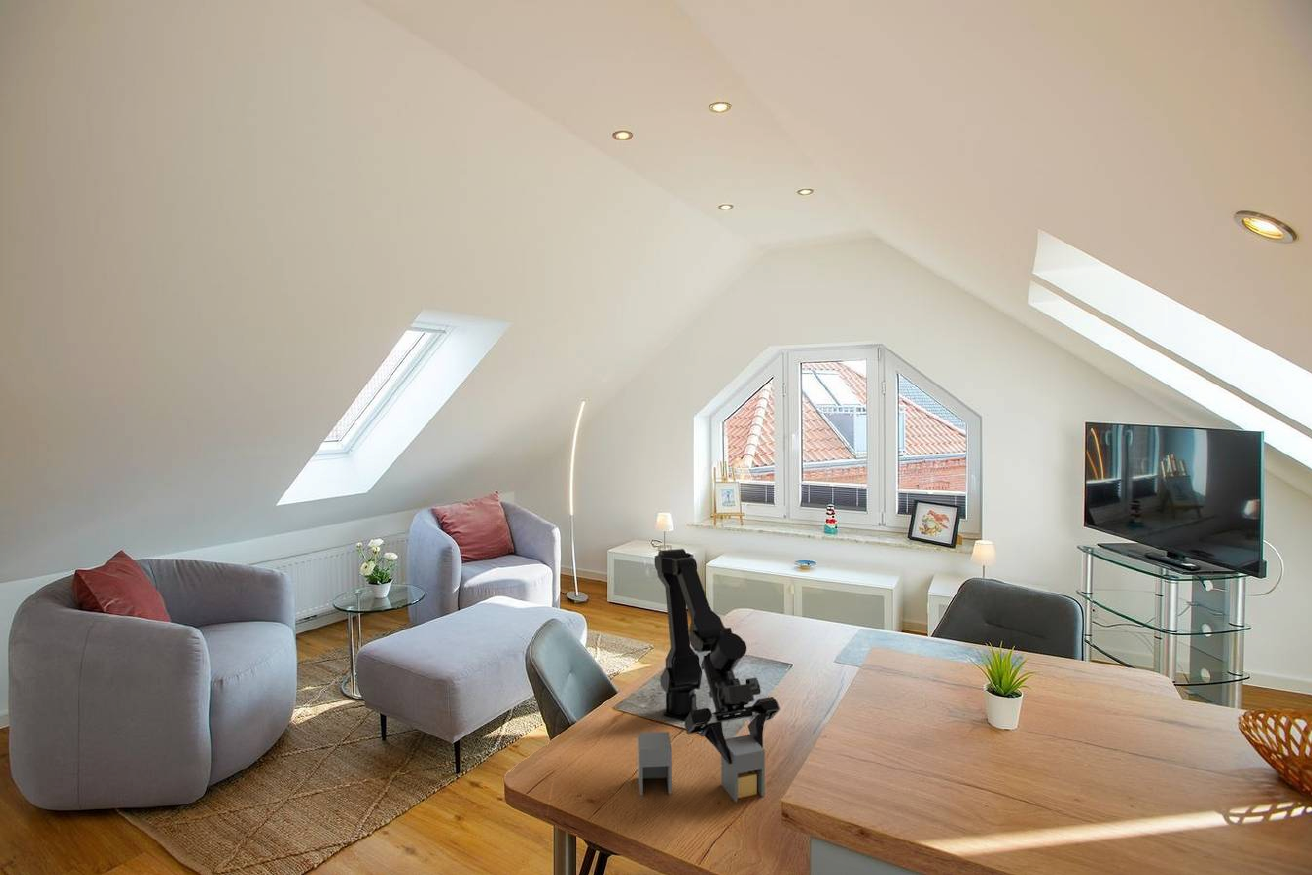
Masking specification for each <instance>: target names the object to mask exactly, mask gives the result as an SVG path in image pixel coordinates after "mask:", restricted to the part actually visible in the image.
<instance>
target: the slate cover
mask: <svg viewBox="0 0 1312 875" xmlns="http://www.w3.org/2000/svg"><path fill="white" fill-rule="evenodd" d="M672 749H673V748H672V742H671V737H670V732H669V731H664V732H663V731H661V732H660V731H659V732H643V733H641V732H638V733H637V752H638V753H637V760H638V761H637V763H638V764H637V765H638V766H637V768H638V770H637V771H638V772H637V774H638V776H637V778H638V790H639V791H638V792H639V794H638V795H639V796H640V797H641V796H643V795H644V793H643V790H644V789H643V788H644V787H643V784H644V783H643V781H644V780H643V779H663V778H664V779H665V778H666V783H667V784H666V785H667V790H668V792H667V793H668V795H673V781H672V780H673V776H672V775H673V770H672V768H673V766H672V765H673V761H672V760H673V758H672V757H673V756H672V755H673V751H672Z"/></svg>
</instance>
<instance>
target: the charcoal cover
mask: <svg viewBox="0 0 1312 875" xmlns="http://www.w3.org/2000/svg"><path fill="white" fill-rule="evenodd" d="M725 741H726V744H727V747H728V750H729V753H730V756H731V761H732V763H731V764H728V763H727V762H726V761H725V759H724V758H723V757H722V755H721V754H720V757H721V758H720V759H721V760H720V761H721V763H720V764H721V766H720V768H721V769H720V771H721V776H720V777H721V780H720V782H721V783H720V784H721V786H722V787H723V789H724V790H725V791H726V793H727V794H728V796H730V798H731V800H732V801H733V802H734V804H735V803H739V798H738V773H743V772H748V771H752V770H753V771H754V772H755V773H756V774H757V794H759V795H760V796H761V797H765V794H766V793H765V790H766V788H765V787H766V786H765V785H766V784H765V783H766V782H765V781H766V778H765V777H766V774H765V772H766V770H765V768H766V767H765V764H766V763H765V762H766V761H765V758H766V757H765V756H766V754H765V752H766V751H765V748H764V747H763V748H762V747H761V746H760V745H759V743H758V742H757V741H756V740H755V739H754V738H753V737H752V736H751V735H750V733H749V734H745V735H740V736H735V737H733V736H732V737H729V738H725Z"/></svg>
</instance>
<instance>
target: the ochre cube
mask: <svg viewBox="0 0 1312 875" xmlns="http://www.w3.org/2000/svg"><path fill="white" fill-rule="evenodd" d="M757 794H758V792H757V774H756V773H755V772H754V771H753V770H752V771H748V772H743V773H738V799H741V798H746V797H750V796H754V795H757Z"/></svg>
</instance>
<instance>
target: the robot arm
mask: <svg viewBox="0 0 1312 875" xmlns="http://www.w3.org/2000/svg"><path fill="white" fill-rule="evenodd" d="M653 563H654V567H655V570H656V572H657V577H658V579H659V581H661V583H662V584H663V586H664V588H665V599H666V608H667V618H668V619H667V620H668V629H669V640H670V641H669V642H670V649H669V652H668V654H667V656H666V658H665V668H664V670H663V671H662V673H661V675H660V677H659V678H660V680H659V681H660V686H661V689H662V690H664V692H665V695H666V696H665V700H666V701H665V710H664V711H663V712H662V715H663V716H666V717H671V718H674V719H678V720H683V721H684V727H685V732H686V734H687V735H693V734H699V736H700V737H705V739H707V740H708V741H709V742H710V744H712V745H713V747H715V749H716V750H717V751H718V753H719V754H720V756H721V755H722V757H723V758H724V759H725V761H726V762H727V763H728V764H731V763H732V761H731V756H730V753H729V750H728V747H727V744H726V741H725V739H726V738H725V736H724V732H723V723H724V722H729V721H735V720H740V719H742V720H743V719H747V718H748V720H749V723H748V725H747V729H748V732H749V734H750V735H751V736H752V737H753V738H754V739H755V740H756V741H757V742H758V743H759V745H760V746H761V747H762V748H763V749H764V738H763V737H764V725H765V722H766V721H770V720H772V719H773V718H774V717H775V716H776V715H777V714H778V713H779V711H781V707H780V704H779V701H777V699H775V698H774V697H773V696H770V697H765V698H764V697H763V698H758V699H757V700H756V701H755V698H754V696H757V695H761V692H762V691H761V686H760V685H761V684H760V683H759V680H758V678H757V677H752V678H751V677H750V678H749V677H748V678H746V679H745V683H744V684H741V681H740V680H739V677H737V678H736V675H735V672H734V670H735V668H736V667H737V666H738V664H739V663H740V661H742V659H743V657H744V656H745V654H746V653H747V645H746V644H747V643H746V642H745V640H744V639H743V638H742V637H741V636H740V635H738V634H737V633H734V632H733V630H732V628H731V627H728V628H726V627H725V626H724V624H723V622H722V620H721V617H720V616H719V615H718V614H717V613H715V611H713V610H712V608H711V606H710V604H709V600H708V598H707V595H706V592H705V590H704V587H703V584H702V581H701V578H700V575H699V572H698V563H697V561H696V559H695V558H694V554H691V553H688V552H686V550H685V549H684V548H680V549H679V548H677V549H667V550H666V549H665V550H664V549H663V550H660V551H658V554H657V555H655V556H654V561H653ZM687 610H688V611H687ZM688 614H689V617H690V618H688ZM688 619H690V620H691V622H690V624H689V620H688ZM694 651H696V652H698V653H703V652H709V653H707V654H705V655H703V659H702V662H701V664H700V657H699V655H698V653H696V652H694ZM703 670H704V673H705V677H706V681H707V684H708V688H709V691H708V696H709V698H711V699H712V701H713V706H714V709H715V711H714V712H712V711H711V709H709V707H704V708H699V709H698V707H697V694H696V693H695V690H699V689H700V687H701V683H702V677H703ZM754 701H755V702H754ZM750 702H754V703H753V705H752V706H746V705H748V704H749V703H750Z"/></svg>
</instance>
